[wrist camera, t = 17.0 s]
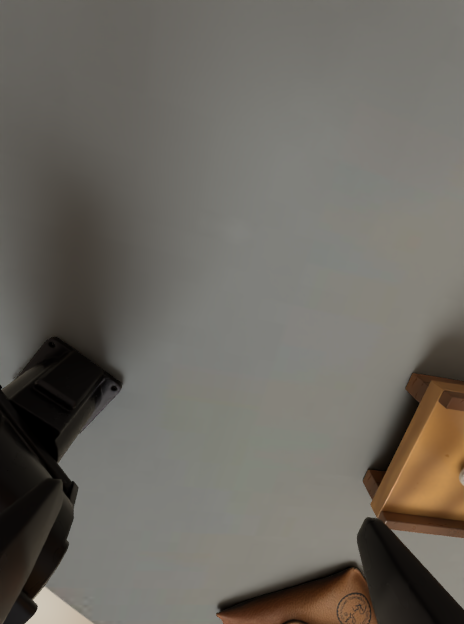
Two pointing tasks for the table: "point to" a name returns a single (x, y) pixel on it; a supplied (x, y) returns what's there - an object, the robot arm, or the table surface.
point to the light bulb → (462, 477)
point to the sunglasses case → (310, 603)
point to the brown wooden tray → (425, 464)
